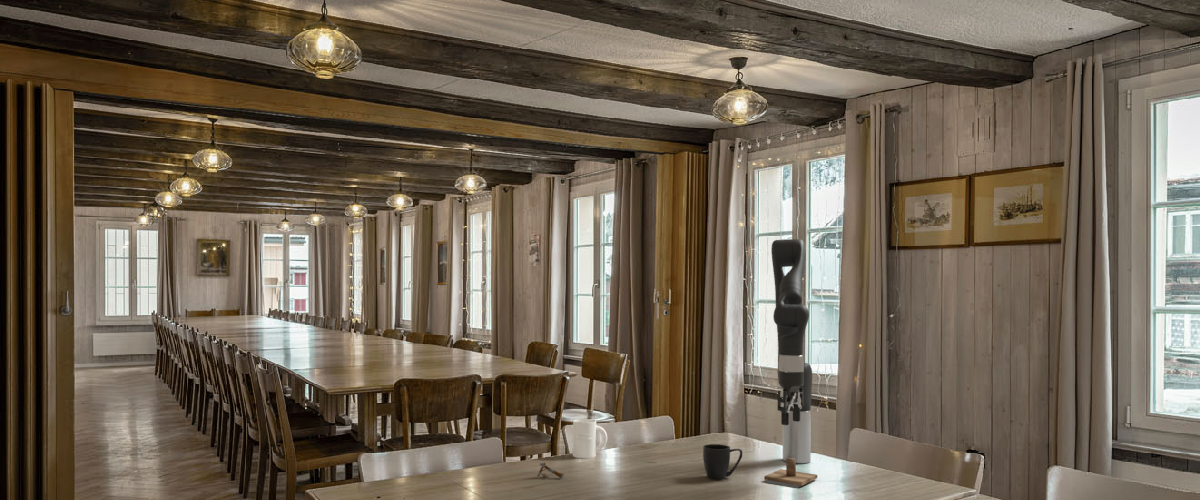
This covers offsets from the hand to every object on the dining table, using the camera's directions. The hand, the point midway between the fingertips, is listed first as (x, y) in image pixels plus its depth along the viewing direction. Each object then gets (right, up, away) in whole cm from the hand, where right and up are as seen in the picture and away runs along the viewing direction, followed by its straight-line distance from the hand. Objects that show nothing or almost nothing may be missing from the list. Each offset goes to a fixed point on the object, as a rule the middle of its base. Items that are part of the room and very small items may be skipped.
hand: (790, 423), depth 250 cm
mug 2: (-21, -18, +2) cm, 27 cm away
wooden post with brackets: (-73, -17, -1) cm, 75 cm away
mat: (0, -17, -1) cm, 17 cm away
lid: (0, -17, -1) cm, 17 cm away
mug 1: (-62, -18, +32) cm, 72 cm away
